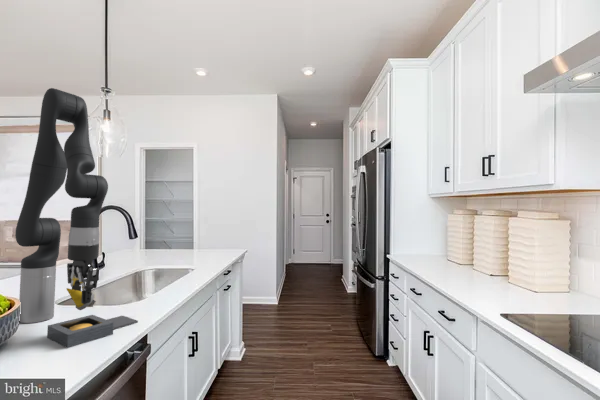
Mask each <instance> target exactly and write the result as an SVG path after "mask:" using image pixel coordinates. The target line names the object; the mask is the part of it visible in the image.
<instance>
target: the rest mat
mask: <svg viewBox="0 0 600 400" xmlns="http://www.w3.org/2000/svg"><path fill="white" fill-rule="evenodd" d="M106 320H108V321H111V322H113V331H114V330H117V329H120V328H124V327H127V326H131V325H134V324H137V323H139V320H136V319H134V318H131V317H128V316H125V315H120V316H115V317H112V318H107V319H106Z"/></svg>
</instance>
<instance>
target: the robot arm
mask: <svg viewBox="0 0 600 400" xmlns="http://www.w3.org/2000/svg"><path fill="white" fill-rule="evenodd" d="M40 109H41V110H40V117H39V128H38V133H37V134H38V135H37V141H36V145H35V151H34V154H33V158H32V161H31V167H30V172H29V179H28V183H27V190H26V194H25V198H24V201H23V204H22V208H21V211H20V214H19V218H18V221H17V224H16V228H15V242H16V243H17V245H19V246H20V247H25V248H26V247H29V248H30V247H38V248H37V249H36V250H35V252H33V253H31V254H29V255H27V256H25V257H23V258H22V259H21V261H20V281H19V282H20V283H19V300H20V302H21V314H20V322H19V323H22V324H31V323H32V324H33V323H40V322H44V321H47V320H50V319H53V318H54V315H55V301H56V297H55V296H56V280H57V279H56V277H57V276H56V274H57V273H56V271H57V260H58V258H59V254H60V244H61V237H62V236H61V234H62V231H61V225H60V222H59V221H58V220H57V219H56V218H53V217H41V214H42V211H43V209H44V207H45V206H46V203H47V202H48V201H50V199H51V198H52V197H53V196H54V195H55V194H56V193H57V192H58V191H59V190H60V189H61V187H62V186H63V184H64V190H65V192H66V194H67V195H68V196H70V197H71V198H75V199H90V200H89V201H88V203H87V204H86V205H81V206H76V207H73V208H72V209H71V212H70V229H69V233H68V244H67V245H68V246H67V247H68V248H67V259H68V261H72V262H69V263H68V262H67V264H66V268H67V270H66V271H67V275H66V276H67V283H68V284H70V287H71V289H73V290H75V291H76V290H78V291H82V299H81V303H83V304H86V303H90V302H91V293H92V290H93V289H97V285H98V281H99V280H98V279H99V273H100V267H94V261H95V260H97V259H99V252H100V250H99V249H100V217H101V215H100V214H101V212H102V207H103V204H104V201H105V200H106V199H105V198H106V196H107V194H108V190H109V183H108V181H107V179H106V178H105V177H104V176H102V175H97V174H89V173H92V172H93V171H94V170H95V168H96V163H95V159H94V155H93V152H92V147H91V142H90V131H89V130H90V129H89V126H90V125H89V117H88V116H89V115H88V107H87V104H86V101H85V99H84V98H83V97H81V96H79V95H76V94H74V93H70V92H67V91H63V90H61V89H57V88H53V87H51V88H48V89H47V90H46V91H45V93H44V94H43V98H42V102H41V107H40ZM57 120H58V121H62V122H64V123H65V122H66V123H71V124H72V125H73V128H74V130H73V131H72V132H71V134H70V135H69V136H68V137H67V139H66V141H65V143H64V146H63V147H62V144H61V143H60V141H59V138H58V135H57ZM70 298H71V297H70ZM19 300H18V301H19ZM71 300H73V299H72V298H71Z"/></svg>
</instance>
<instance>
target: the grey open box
mask: <svg viewBox="0 0 600 400" xmlns="http://www.w3.org/2000/svg"><path fill="white" fill-rule="evenodd" d="M78 324H92V326H89V327H85V328H82V329H78V330H74V331H72V330H69V328H70V327H72V326H74V325H78ZM46 334H47V335H46V338H47V339H49V340H50V341H52V342H55V343H56V344H58V345H59V346H62V347H64V348H66V349H69V348H73V347H76V346H79V345H82V344H86V343H88V342H89V343H90V342H92V341H95V340H99V339H102V338H105V337H108V336H112V335H114V330H113V322H111V321H108V320H107V319H106V318H102V317H100V316H97V315H95V314H90V315H85V316H82V317H77V318H73V319H70V320H69V319H68V320H65V321H61V322H56V323H53V324H49V325H47V333H46Z"/></svg>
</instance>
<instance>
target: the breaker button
mask: <svg viewBox="0 0 600 400" xmlns="http://www.w3.org/2000/svg"><path fill="white" fill-rule="evenodd" d="M89 326H92V324H78V325H74V326H72V327H70V328H69V330H72V331H74V330H78V329H82V328H85V327H89Z"/></svg>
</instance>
